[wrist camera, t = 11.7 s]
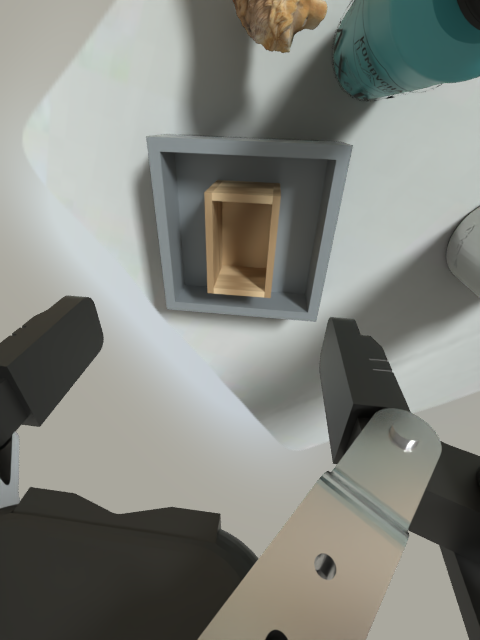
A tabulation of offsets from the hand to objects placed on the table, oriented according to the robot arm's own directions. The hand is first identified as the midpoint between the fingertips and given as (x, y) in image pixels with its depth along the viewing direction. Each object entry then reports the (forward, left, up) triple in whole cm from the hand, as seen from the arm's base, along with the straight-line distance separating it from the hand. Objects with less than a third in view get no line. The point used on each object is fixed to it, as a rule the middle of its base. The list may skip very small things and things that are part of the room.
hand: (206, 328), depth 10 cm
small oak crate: (0, +3, -23) cm, 23 cm away
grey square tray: (0, +3, -24) cm, 24 cm away
